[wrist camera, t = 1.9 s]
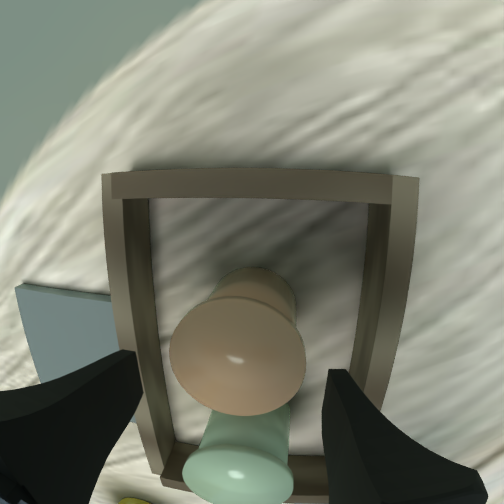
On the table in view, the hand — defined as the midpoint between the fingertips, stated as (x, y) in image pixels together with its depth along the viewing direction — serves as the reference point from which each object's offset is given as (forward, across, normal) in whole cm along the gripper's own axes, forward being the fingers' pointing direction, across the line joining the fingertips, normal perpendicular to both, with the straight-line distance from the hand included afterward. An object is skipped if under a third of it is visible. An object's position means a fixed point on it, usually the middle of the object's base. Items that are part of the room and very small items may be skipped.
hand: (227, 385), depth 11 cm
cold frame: (+7, 0, +3) cm, 8 cm away
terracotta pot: (+7, 0, 0) cm, 7 cm away
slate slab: (+7, +13, +5) cm, 16 cm away
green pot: (+7, 0, +8) cm, 11 cm away
